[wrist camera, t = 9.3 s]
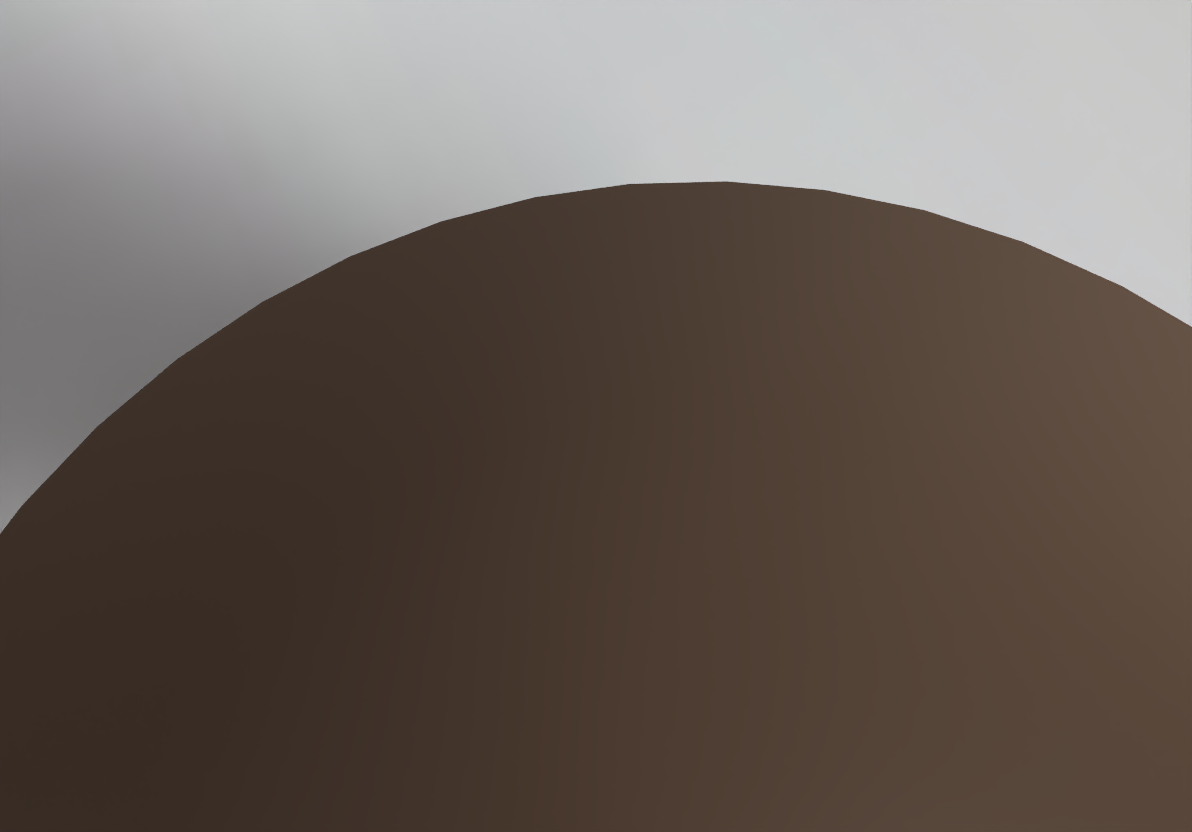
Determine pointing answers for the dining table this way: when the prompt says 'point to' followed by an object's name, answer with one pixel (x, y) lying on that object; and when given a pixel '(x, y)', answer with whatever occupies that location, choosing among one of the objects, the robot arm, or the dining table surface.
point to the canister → (627, 541)
